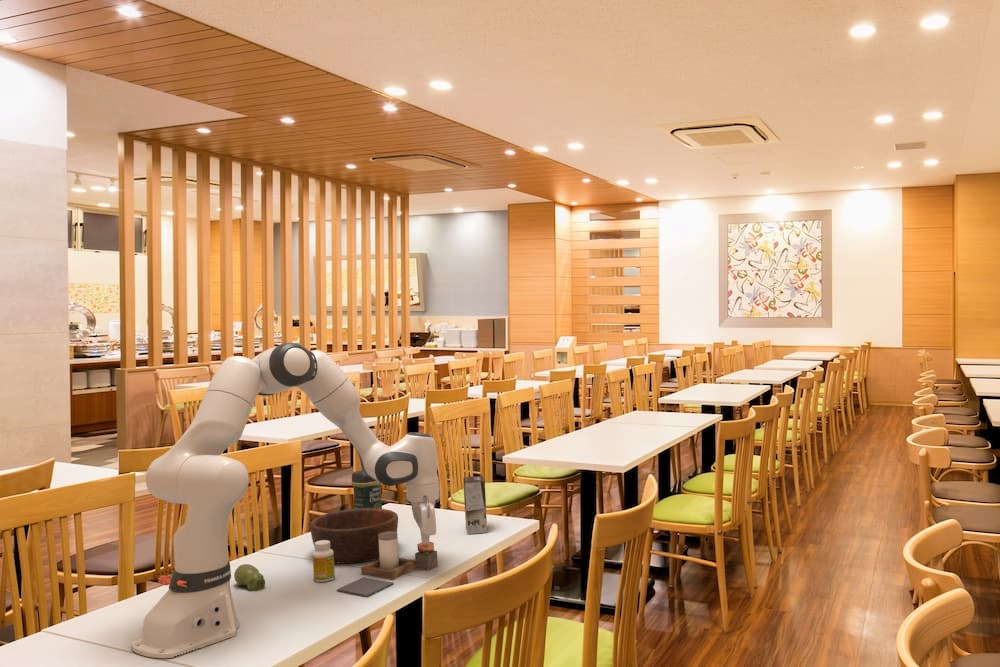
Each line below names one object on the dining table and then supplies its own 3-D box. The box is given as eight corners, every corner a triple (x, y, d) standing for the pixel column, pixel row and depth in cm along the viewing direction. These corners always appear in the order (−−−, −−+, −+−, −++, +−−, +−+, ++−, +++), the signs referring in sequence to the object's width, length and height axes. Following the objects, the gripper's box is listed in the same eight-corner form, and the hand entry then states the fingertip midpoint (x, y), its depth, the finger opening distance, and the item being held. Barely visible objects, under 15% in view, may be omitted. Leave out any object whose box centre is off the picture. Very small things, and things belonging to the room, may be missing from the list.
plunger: (428, 566, 214) (427, 547, 214) (414, 563, 216) (413, 545, 216) (438, 561, 218) (437, 542, 218) (424, 559, 220) (424, 541, 220)
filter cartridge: (391, 575, 211) (389, 537, 211) (376, 572, 214) (374, 535, 214) (403, 569, 216) (401, 532, 215) (388, 567, 218) (386, 530, 218)
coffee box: (488, 533, 248) (485, 481, 247) (467, 534, 247) (464, 482, 247) (485, 525, 257) (482, 475, 256) (465, 527, 256) (462, 476, 256)
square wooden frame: (404, 581, 206) (403, 566, 206) (361, 574, 213) (360, 559, 213) (437, 565, 218) (436, 550, 218) (396, 559, 225) (395, 544, 225)
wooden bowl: (297, 567, 223) (294, 530, 223) (331, 541, 248) (329, 507, 247) (383, 567, 219) (381, 530, 218) (410, 541, 243) (408, 507, 243)
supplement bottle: (329, 582, 208) (327, 545, 208) (310, 582, 209) (308, 545, 209) (338, 575, 213) (336, 539, 213) (319, 575, 214) (317, 539, 214)
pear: (249, 559, 213) (271, 572, 207) (248, 578, 214) (270, 591, 208) (230, 564, 209) (251, 577, 203) (229, 584, 210) (250, 597, 203)
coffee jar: (365, 531, 257) (362, 473, 257) (349, 527, 262) (346, 470, 262) (388, 524, 265) (385, 467, 264) (372, 521, 270) (369, 465, 269)
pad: (367, 597, 195) (367, 595, 195) (336, 591, 201) (336, 589, 201) (393, 584, 204) (393, 582, 204) (363, 579, 209) (363, 577, 209)
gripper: (440, 499, 207) (443, 553, 208) (429, 484, 227) (431, 532, 228) (415, 502, 206) (418, 556, 206) (406, 486, 226) (409, 535, 226)
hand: (425, 543), depth 217 cm, fingers closed
